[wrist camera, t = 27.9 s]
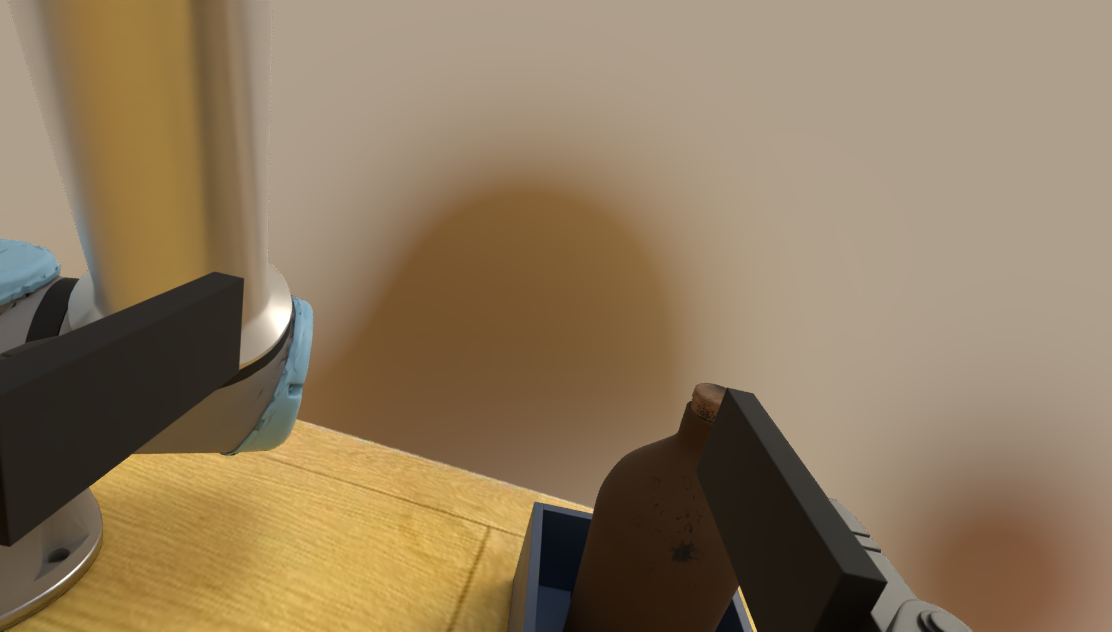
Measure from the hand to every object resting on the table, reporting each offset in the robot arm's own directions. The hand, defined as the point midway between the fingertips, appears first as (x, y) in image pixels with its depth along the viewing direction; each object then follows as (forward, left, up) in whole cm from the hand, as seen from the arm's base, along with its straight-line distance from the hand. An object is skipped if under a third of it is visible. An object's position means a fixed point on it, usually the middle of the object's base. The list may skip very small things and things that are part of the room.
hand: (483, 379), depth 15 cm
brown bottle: (-3, +22, -31) cm, 38 cm away
